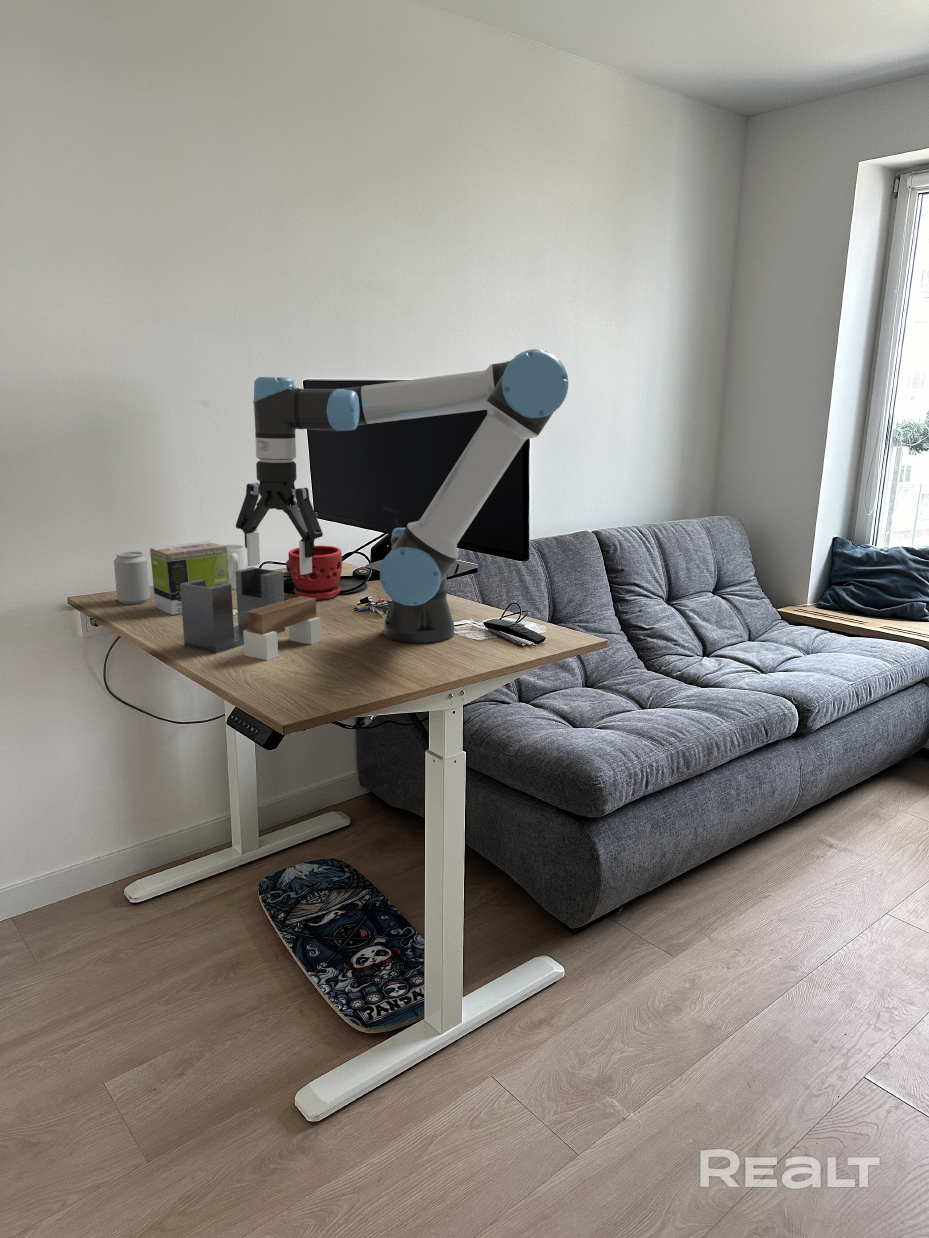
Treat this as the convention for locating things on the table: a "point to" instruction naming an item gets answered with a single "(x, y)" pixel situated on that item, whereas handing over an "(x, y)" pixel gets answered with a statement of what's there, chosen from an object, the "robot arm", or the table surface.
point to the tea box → (186, 570)
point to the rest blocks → (268, 644)
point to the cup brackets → (226, 608)
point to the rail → (280, 615)
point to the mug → (235, 561)
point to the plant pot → (317, 573)
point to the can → (131, 577)
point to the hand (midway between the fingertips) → (279, 569)
